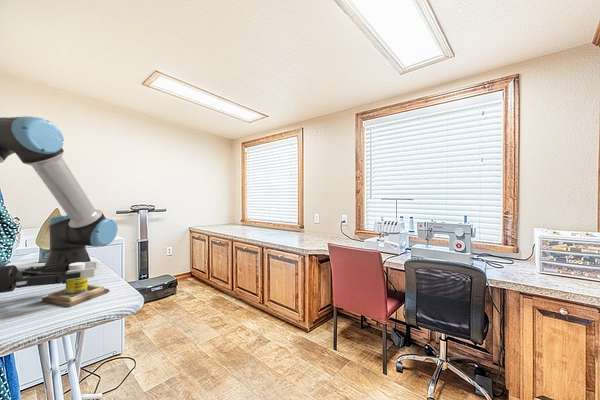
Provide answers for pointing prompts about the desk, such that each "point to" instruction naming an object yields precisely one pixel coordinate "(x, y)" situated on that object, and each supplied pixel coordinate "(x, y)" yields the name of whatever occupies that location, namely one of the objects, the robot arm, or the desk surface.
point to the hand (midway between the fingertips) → (95, 268)
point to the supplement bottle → (76, 281)
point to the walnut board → (70, 301)
